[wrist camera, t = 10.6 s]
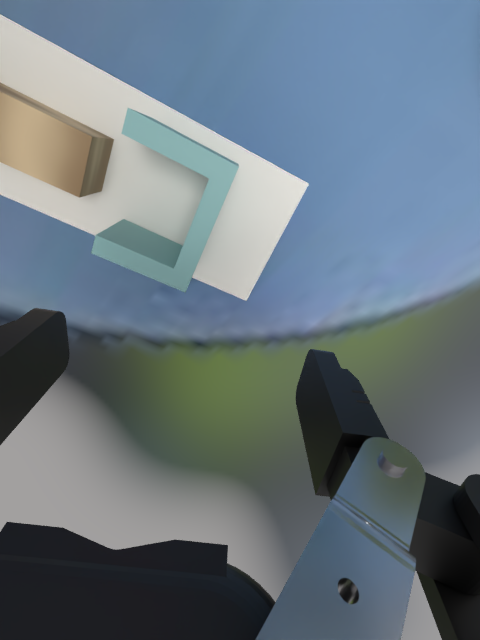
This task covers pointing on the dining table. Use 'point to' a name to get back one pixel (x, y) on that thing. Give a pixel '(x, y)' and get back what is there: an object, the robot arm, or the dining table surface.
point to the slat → (51, 145)
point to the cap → (180, 261)
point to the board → (146, 167)
